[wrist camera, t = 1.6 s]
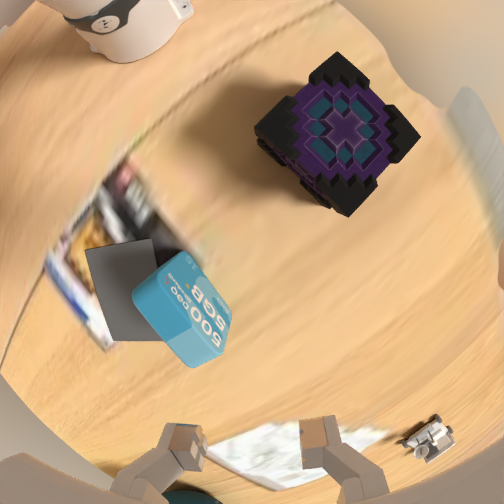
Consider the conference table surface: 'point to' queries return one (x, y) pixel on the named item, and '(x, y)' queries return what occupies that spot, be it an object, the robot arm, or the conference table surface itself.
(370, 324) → the conference table surface
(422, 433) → the toy car
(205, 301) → the light blue flat block
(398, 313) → the conference table surface
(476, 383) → the conference table surface
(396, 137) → the energy cube
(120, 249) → the mat
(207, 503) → the globe
